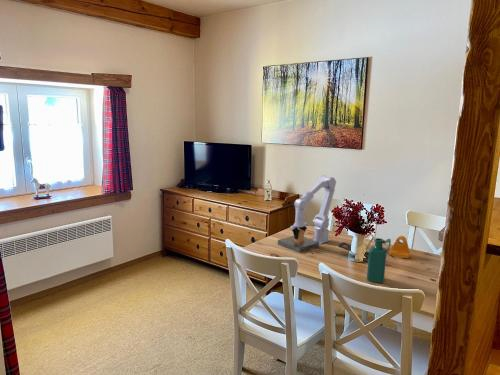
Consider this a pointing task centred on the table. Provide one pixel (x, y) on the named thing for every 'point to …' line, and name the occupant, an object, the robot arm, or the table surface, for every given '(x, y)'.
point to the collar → (298, 244)
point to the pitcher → (377, 261)
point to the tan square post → (300, 237)
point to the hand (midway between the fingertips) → (298, 238)
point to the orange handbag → (400, 248)
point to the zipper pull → (350, 250)
